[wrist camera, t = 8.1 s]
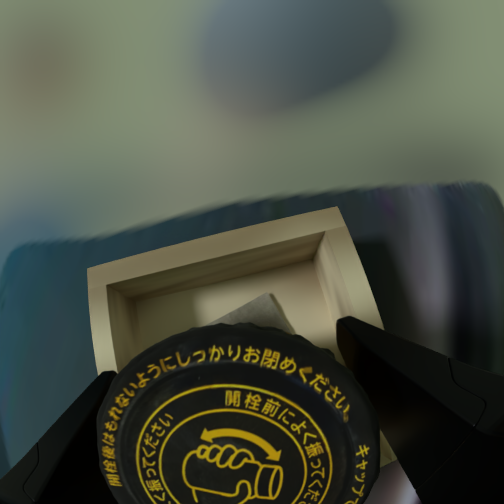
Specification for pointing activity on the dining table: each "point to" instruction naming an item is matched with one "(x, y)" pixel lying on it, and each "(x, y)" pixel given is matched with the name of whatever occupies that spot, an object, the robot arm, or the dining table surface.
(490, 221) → the dining table surface
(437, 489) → the robot arm
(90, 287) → the tan square tray
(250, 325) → the condiment
